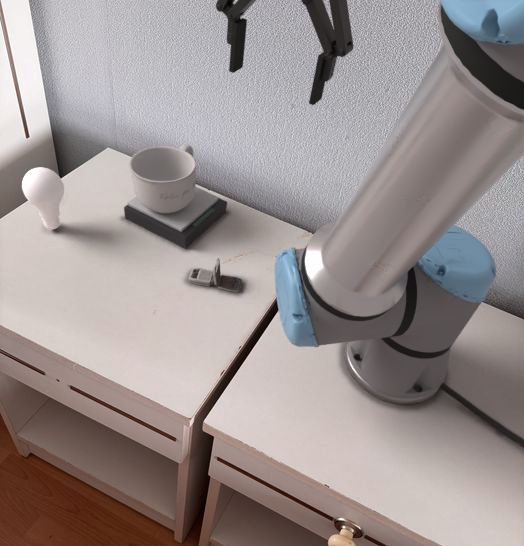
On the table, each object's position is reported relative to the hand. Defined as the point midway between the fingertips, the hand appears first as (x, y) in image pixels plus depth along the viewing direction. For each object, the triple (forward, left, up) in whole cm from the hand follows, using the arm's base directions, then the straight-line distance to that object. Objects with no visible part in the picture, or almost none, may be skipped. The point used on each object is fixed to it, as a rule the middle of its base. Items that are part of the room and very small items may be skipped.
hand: (274, 85), depth 76 cm
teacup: (+13, +8, -22) cm, 27 cm away
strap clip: (-3, +18, -25) cm, 31 cm away
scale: (+12, +8, -25) cm, 29 cm away
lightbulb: (+26, +24, -25) cm, 43 cm away
